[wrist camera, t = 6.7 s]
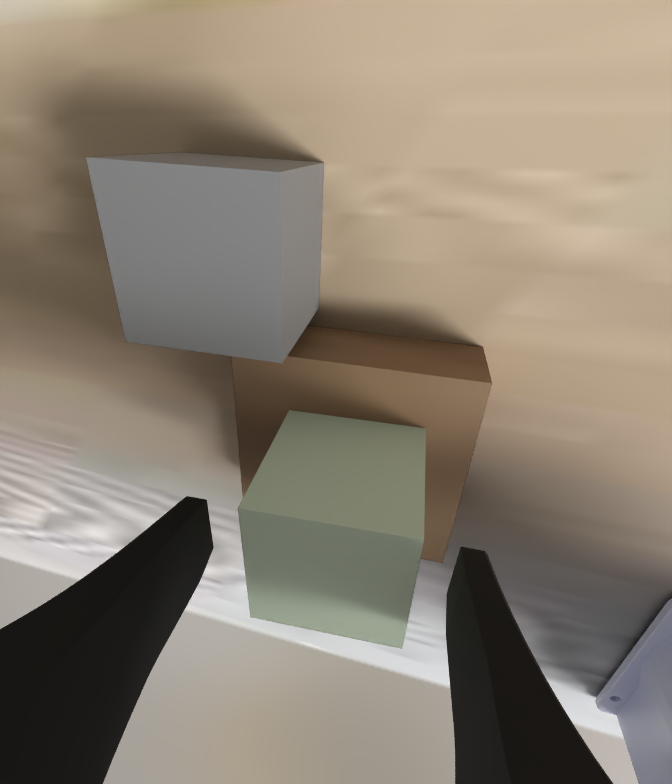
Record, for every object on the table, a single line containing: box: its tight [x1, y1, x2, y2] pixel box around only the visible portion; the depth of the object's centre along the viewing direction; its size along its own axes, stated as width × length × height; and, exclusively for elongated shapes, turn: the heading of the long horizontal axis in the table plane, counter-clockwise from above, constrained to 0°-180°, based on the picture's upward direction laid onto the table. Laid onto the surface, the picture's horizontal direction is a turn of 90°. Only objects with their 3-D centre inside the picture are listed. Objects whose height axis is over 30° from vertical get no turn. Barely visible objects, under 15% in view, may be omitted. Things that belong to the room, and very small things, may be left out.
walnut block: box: [231, 325, 492, 563], centre depth 16 cm, size 8×8×3 cm
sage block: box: [238, 410, 426, 649], centre depth 13 cm, size 4×4×4 cm
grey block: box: [86, 152, 324, 363], centre depth 12 cm, size 4×4×4 cm
